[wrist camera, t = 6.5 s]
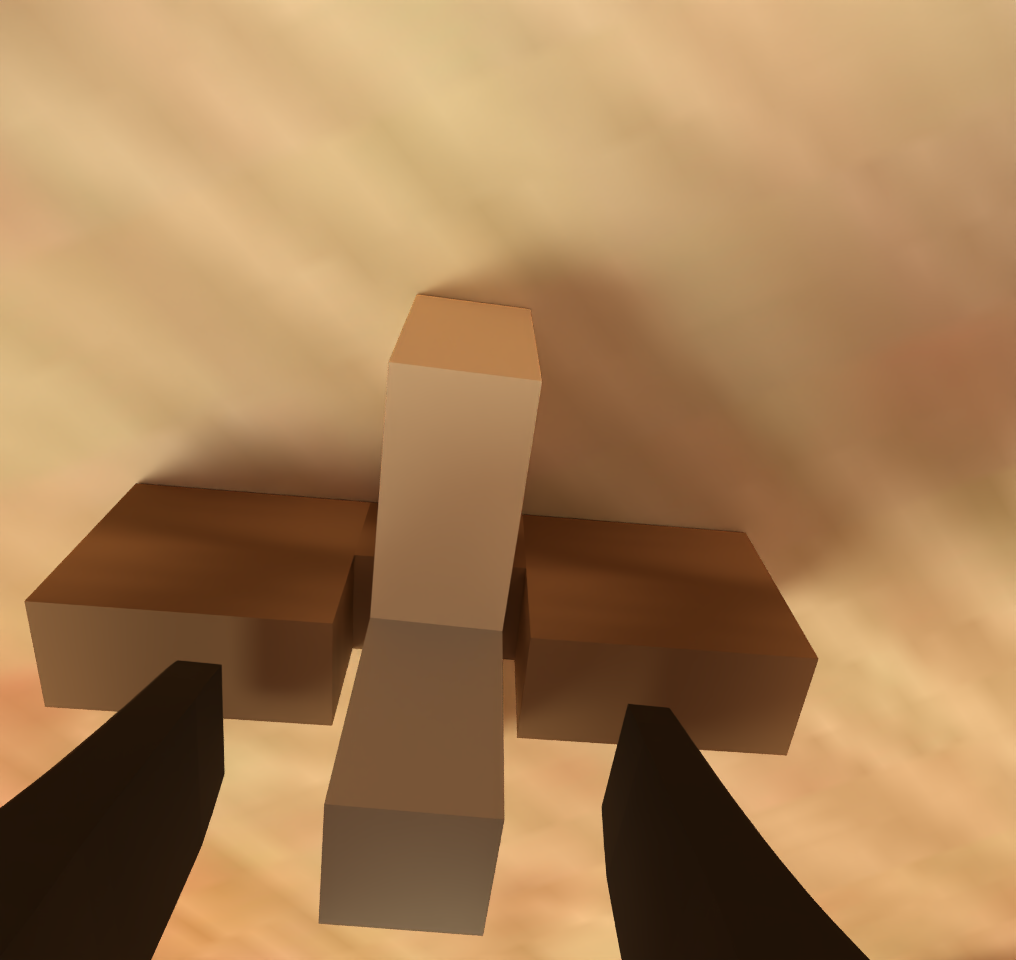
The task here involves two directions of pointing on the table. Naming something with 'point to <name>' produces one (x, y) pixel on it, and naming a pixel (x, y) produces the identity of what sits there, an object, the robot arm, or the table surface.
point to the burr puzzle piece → (435, 629)
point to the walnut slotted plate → (347, 606)
